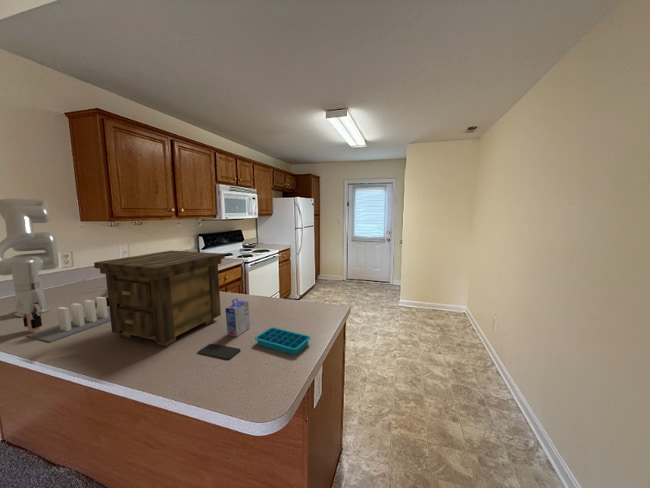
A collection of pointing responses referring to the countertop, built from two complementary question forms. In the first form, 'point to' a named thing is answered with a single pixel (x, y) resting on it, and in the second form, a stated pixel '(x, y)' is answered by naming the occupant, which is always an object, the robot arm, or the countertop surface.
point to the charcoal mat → (57, 333)
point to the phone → (219, 351)
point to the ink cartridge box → (237, 317)
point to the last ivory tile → (64, 318)
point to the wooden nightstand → (162, 293)
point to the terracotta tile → (30, 323)
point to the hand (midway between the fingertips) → (33, 325)
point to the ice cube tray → (283, 340)
